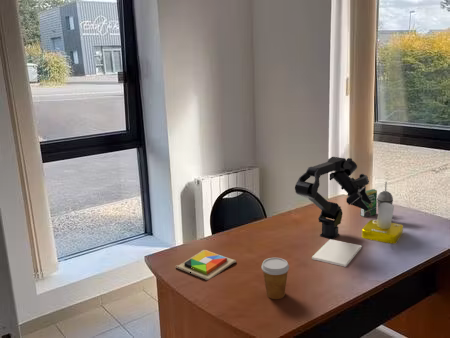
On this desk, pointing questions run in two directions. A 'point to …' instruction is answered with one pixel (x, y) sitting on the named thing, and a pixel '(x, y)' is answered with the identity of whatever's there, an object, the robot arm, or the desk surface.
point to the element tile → (382, 232)
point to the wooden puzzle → (206, 264)
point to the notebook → (337, 252)
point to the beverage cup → (384, 197)
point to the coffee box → (372, 207)
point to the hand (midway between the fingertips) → (369, 206)
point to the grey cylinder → (385, 215)
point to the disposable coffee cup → (275, 277)
